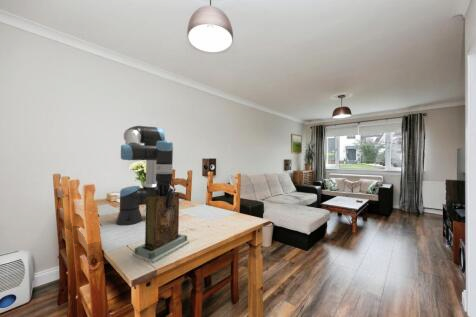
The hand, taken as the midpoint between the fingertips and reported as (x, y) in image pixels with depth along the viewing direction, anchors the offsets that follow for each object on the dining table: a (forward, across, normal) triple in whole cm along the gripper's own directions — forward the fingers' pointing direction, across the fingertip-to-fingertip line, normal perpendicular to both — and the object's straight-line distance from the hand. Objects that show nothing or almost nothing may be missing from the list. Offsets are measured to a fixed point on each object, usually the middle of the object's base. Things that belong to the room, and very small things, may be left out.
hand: (163, 221), depth 95 cm
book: (+12, 0, 0) cm, 12 cm away
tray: (+13, 0, 0) cm, 13 cm away
